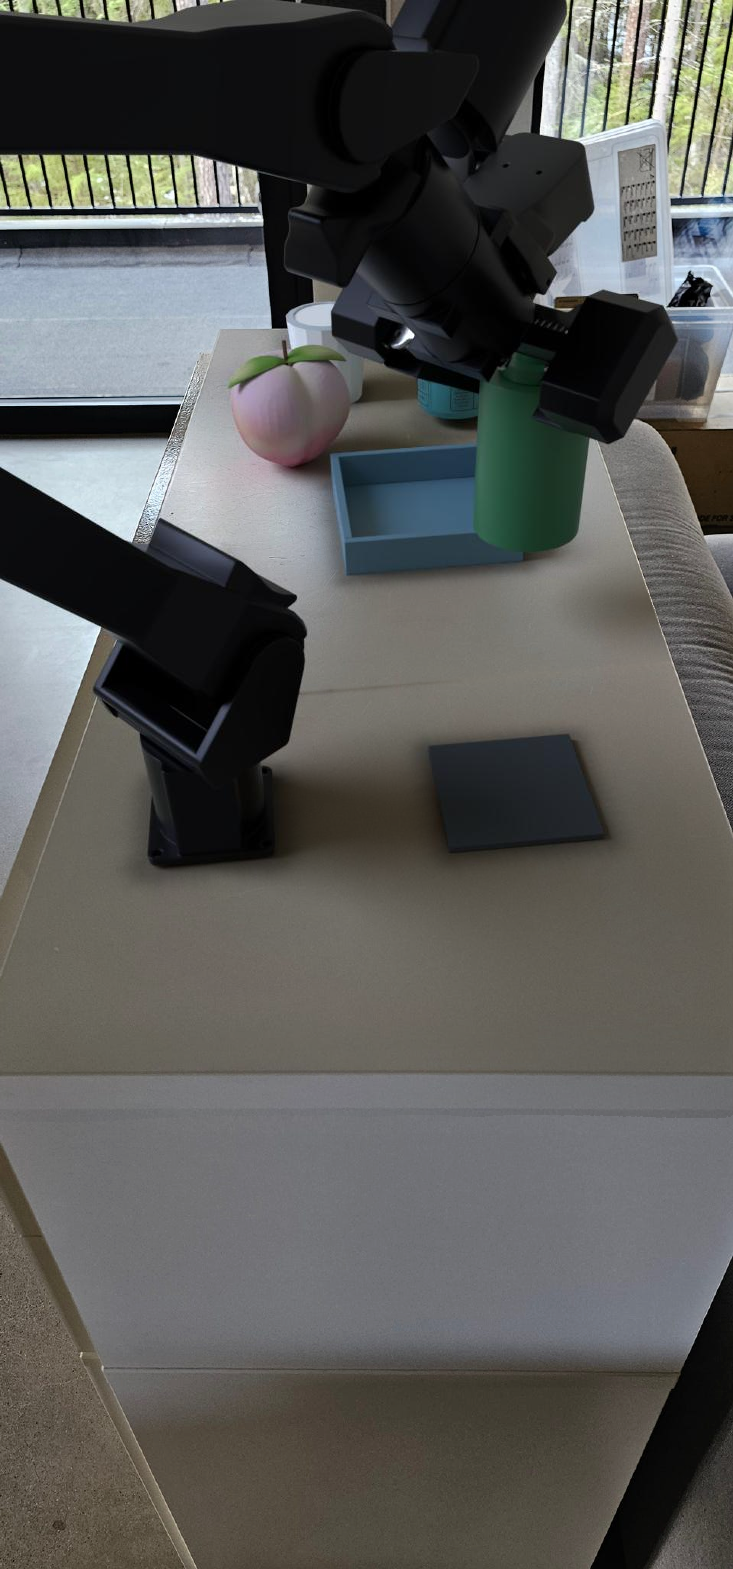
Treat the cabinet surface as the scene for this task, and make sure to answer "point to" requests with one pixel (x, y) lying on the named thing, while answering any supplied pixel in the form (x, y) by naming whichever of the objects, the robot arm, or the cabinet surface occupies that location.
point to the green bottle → (525, 466)
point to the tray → (409, 510)
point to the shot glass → (325, 341)
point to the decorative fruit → (290, 403)
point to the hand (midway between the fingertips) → (550, 407)
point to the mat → (513, 793)
